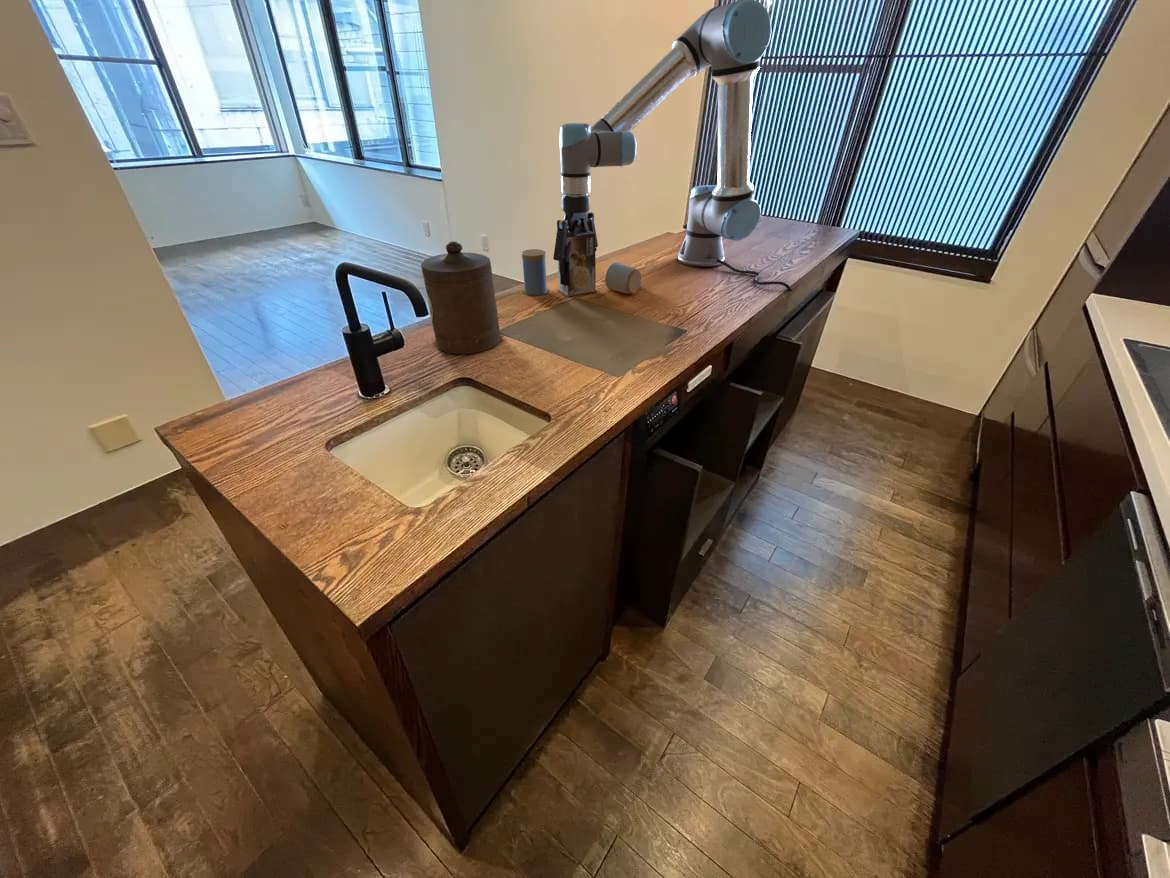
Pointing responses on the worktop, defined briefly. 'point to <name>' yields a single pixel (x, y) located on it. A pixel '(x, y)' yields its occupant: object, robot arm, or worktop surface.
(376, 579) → the worktop surface
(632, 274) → the ceramic mug
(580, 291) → the coffee box
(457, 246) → the wooden container
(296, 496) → the worktop surface
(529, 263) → the tea tin
